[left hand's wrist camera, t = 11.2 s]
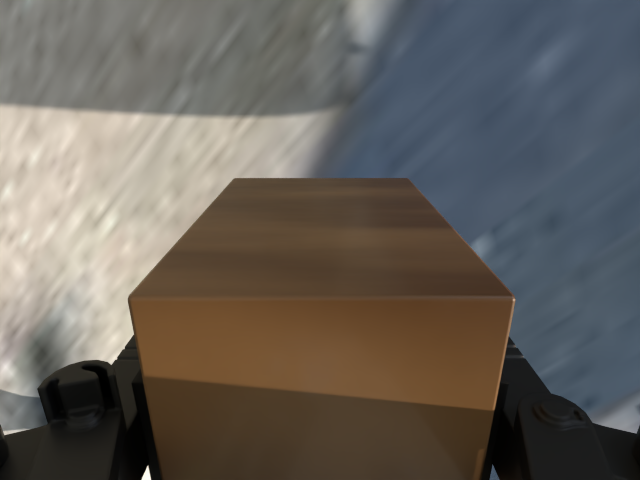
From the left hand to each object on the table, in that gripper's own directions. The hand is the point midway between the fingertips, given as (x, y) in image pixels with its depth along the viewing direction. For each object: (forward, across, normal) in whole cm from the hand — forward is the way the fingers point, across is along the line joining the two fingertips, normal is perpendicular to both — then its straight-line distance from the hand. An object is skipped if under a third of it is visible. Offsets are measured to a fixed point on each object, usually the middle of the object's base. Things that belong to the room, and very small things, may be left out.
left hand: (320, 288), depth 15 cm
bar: (+1, 0, -13) cm, 13 cm away
